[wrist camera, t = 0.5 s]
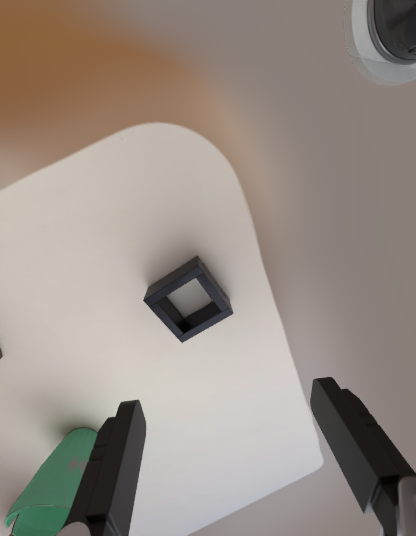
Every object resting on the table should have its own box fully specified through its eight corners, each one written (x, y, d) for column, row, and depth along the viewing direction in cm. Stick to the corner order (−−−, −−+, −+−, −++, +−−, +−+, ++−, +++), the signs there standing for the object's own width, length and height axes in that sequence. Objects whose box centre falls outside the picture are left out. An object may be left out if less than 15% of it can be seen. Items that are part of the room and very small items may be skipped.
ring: (197, 255, 26) (198, 265, 23) (229, 300, 28) (233, 313, 25) (147, 287, 27) (142, 300, 24) (182, 327, 29) (181, 343, 27)
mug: (39, 437, 36) (-14, 527, 27) (80, 408, 34) (38, 496, 25) (108, 472, 41) (84, 559, 32) (148, 449, 39) (134, 535, 30)
